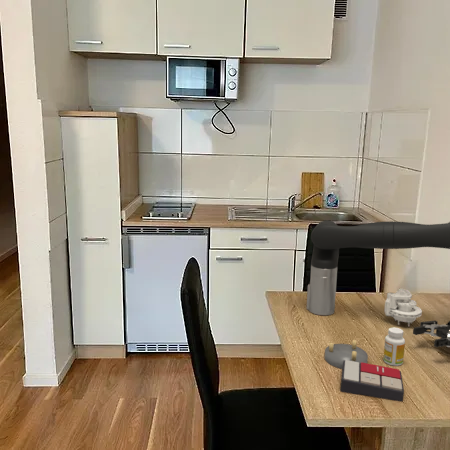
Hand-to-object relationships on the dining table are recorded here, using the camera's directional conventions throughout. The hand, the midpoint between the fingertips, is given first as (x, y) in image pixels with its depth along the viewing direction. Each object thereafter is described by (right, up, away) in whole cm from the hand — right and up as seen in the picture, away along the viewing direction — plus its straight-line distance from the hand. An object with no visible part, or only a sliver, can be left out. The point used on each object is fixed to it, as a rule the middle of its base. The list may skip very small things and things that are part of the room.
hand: (424, 337), depth 138 cm
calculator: (-20, -10, -15) cm, 27 cm away
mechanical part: (+3, -1, +25) cm, 26 cm away
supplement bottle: (-10, -7, -2) cm, 12 cm away
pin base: (-23, -6, -1) cm, 24 cm away
